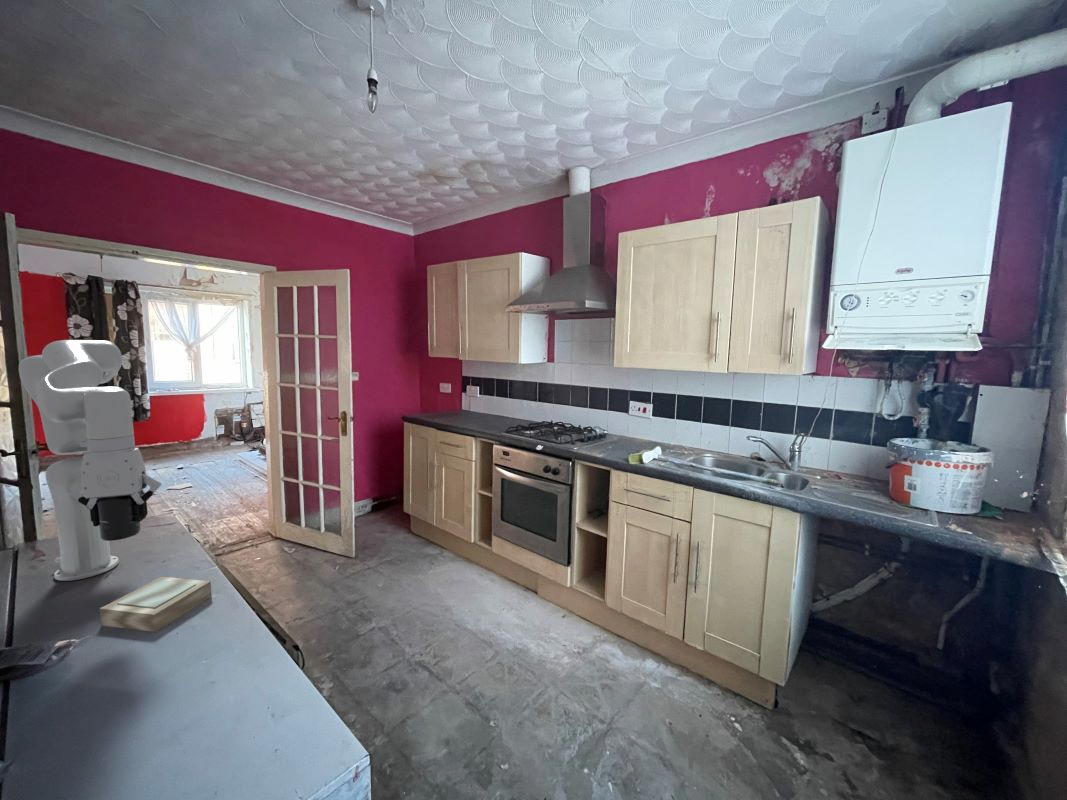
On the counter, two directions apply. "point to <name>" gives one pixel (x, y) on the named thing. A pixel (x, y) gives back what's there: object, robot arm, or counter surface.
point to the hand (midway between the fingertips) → (120, 521)
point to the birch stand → (155, 604)
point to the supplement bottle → (117, 518)
